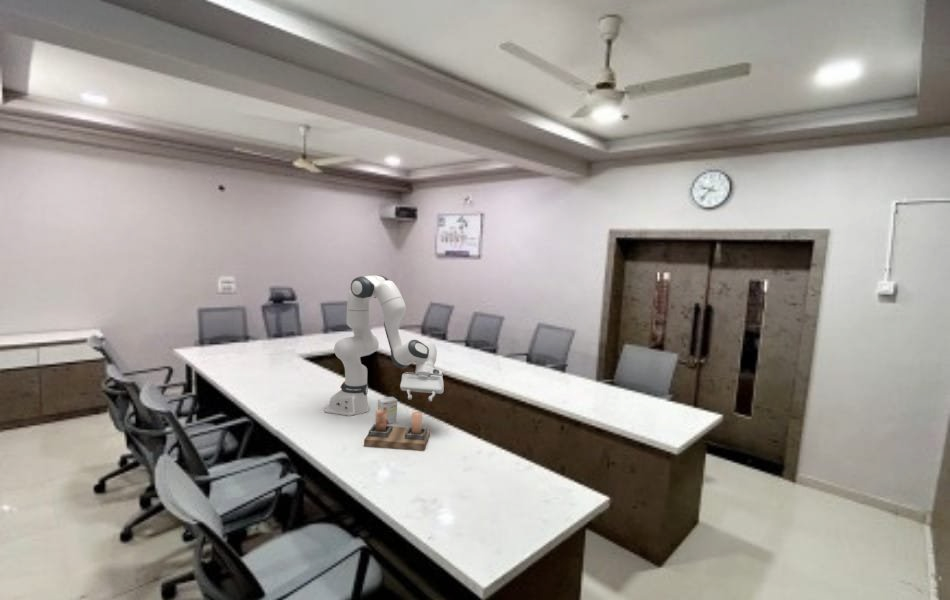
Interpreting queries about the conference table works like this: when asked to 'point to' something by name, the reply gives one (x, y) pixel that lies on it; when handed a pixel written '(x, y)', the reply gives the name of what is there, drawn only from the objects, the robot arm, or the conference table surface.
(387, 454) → the conference table surface
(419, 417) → the terracotta pillar
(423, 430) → the build base
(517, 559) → the conference table surface
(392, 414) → the ink box
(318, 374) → the conference table surface
